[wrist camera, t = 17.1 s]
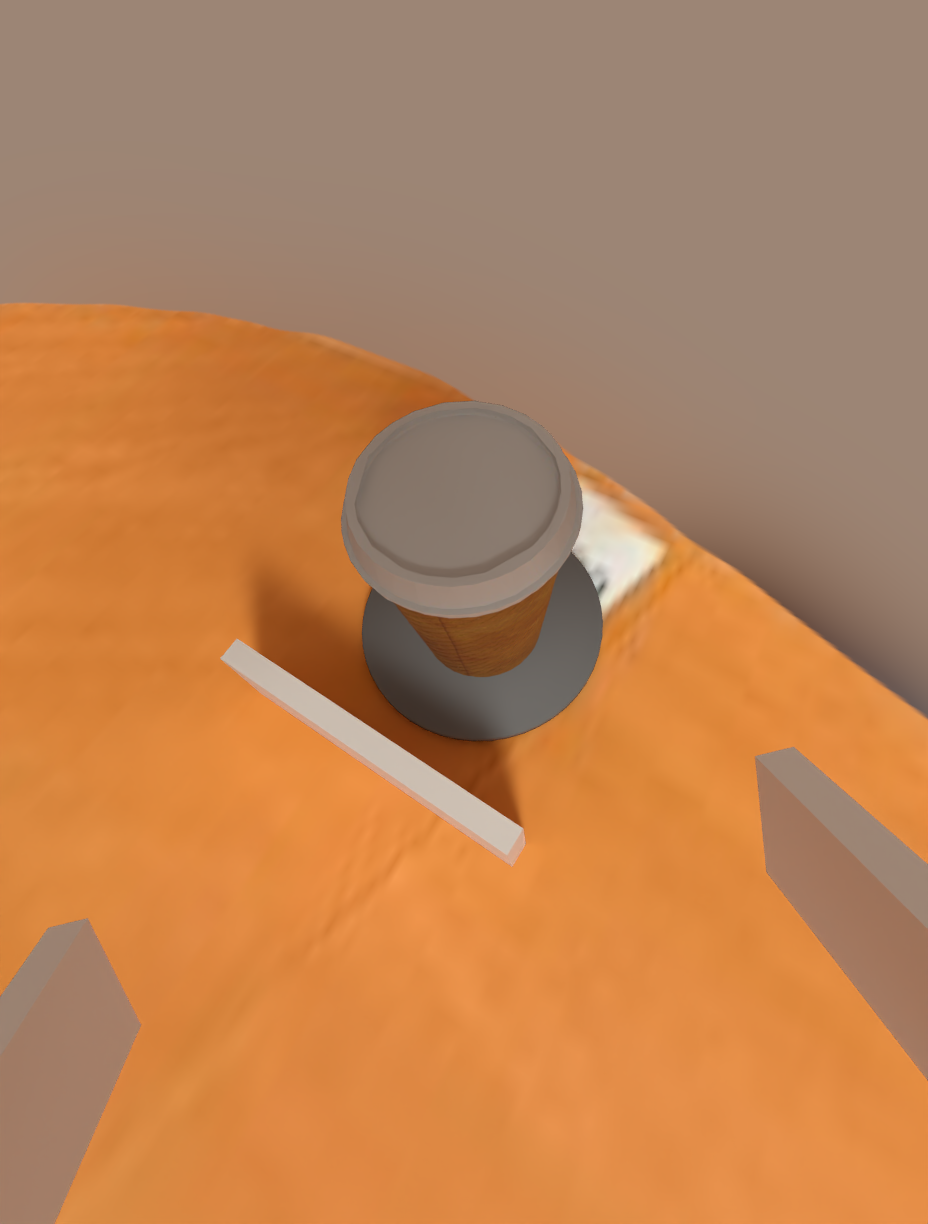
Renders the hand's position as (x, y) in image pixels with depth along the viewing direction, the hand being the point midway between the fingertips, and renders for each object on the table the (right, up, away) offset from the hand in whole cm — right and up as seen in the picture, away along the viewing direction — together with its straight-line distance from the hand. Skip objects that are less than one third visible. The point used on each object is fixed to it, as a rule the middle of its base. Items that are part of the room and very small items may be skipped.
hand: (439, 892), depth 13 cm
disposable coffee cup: (+1, +5, +23) cm, 23 cm away
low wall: (-4, -2, +20) cm, 21 cm away
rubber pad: (+1, +5, +23) cm, 24 cm away
